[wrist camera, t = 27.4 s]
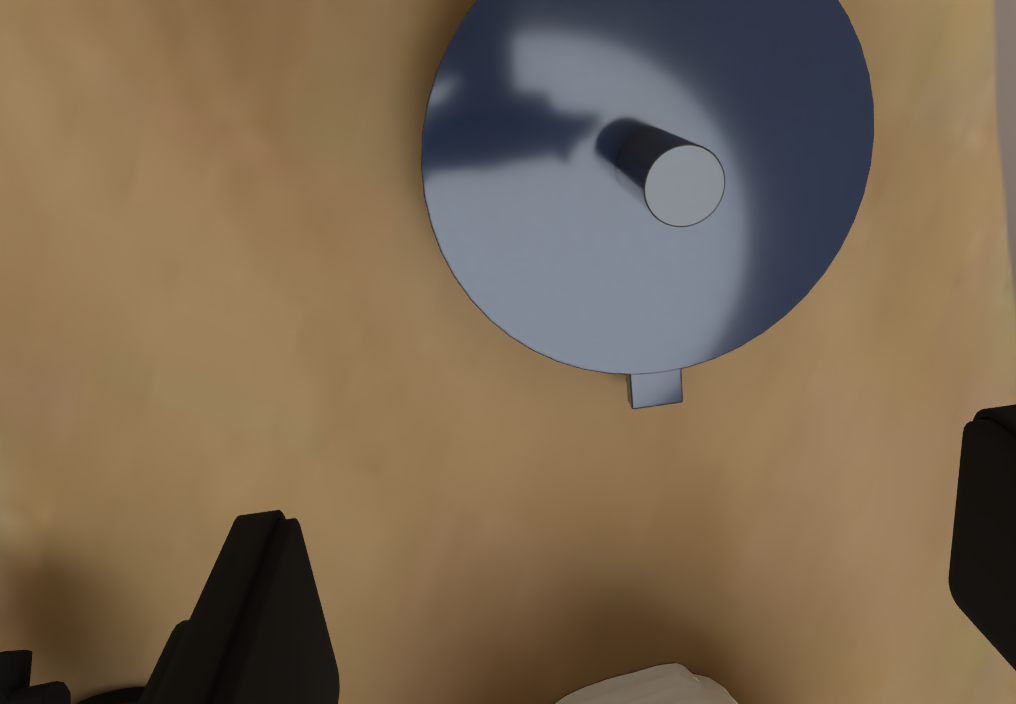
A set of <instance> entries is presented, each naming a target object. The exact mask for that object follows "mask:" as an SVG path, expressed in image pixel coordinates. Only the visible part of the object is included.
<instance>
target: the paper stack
mask: <svg viewBox="0 0 1016 704" xmlns="http://www.w3.org/2000/svg"><path fill="white" fill-rule="evenodd" d="M555 704H738V703H737V702H736V701H735V700H734V699H733V698H732V697H731V696H730V695H729V693H728V691H727V690H726V689H725V688H724V687H723V686H721V685H720V684H718V683H717V682H715V681H714V680H712V679H711V678H709V677H705V676H701V675H697V674H692V673H691V672H690V671H689V670H688V669H687V668H686V667H685V666H683V665H680V664H678V663H672V664H664V665H657V666H654V667H650V668H647V669H644V670H640V671H637V672H633V673H630V674H625V675H621V676H617V677H613V678H610V679H607V680H604V681H601V682H598V683H595V684H592V685H589V686H586V687H584V688H582V689H579V690H577V691H575V692H573V693H571V694H569V695H567V696H565V697H563V698H562V699H561V700H559V701H558V702H557V703H555Z"/></svg>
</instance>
